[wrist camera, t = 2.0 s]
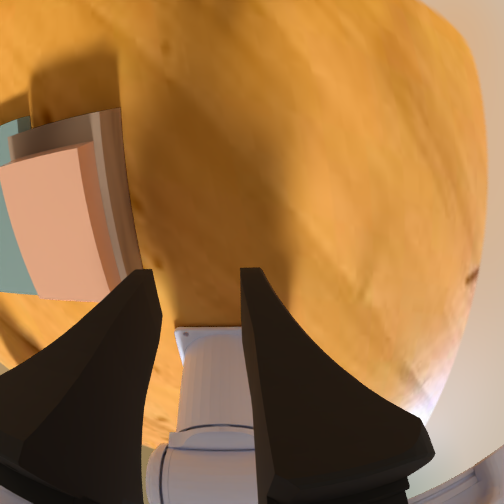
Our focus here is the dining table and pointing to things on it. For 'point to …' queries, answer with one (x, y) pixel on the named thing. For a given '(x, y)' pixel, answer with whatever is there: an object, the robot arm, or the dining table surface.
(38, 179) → the terracotta tile
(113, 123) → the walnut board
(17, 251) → the teal rectangular slab
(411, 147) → the dining table surface
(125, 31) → the dining table surface
